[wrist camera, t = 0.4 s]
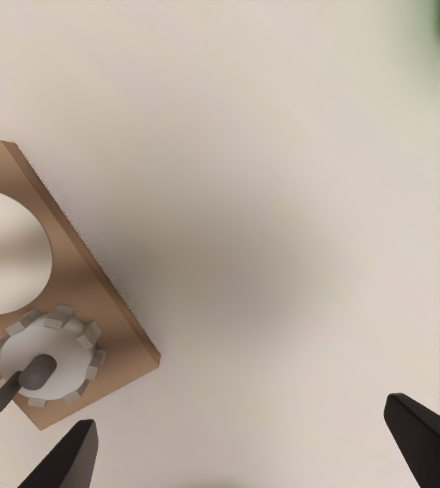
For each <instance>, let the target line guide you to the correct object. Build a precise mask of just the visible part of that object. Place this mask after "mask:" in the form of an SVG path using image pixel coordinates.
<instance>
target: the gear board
mask: <svg viewBox="0 0 440 488" xmlns="http://www.w3.org/2000/svg"><path fill="white" fill-rule="evenodd" d="M160 357H161V355H160V354H159V352H158V351H157V349H156V348H155V346H154V345H153V343H152V342H151V341H150V339H149V338H148V336H147V335H146V333H145V332H144V330H143V329H142V327H141V326H140V325H139V323H138V322H137V320H136V319H135V317H134V316H133V314H132V313H131V311H130V310H129V309H128V307H127V306H126V304H125V303H124V301H123V300H122V298H121V297H120V295H119V294H118V292H117V291H116V290H115V288H114V287H113V285H112V284H111V282H110V281H109V279H108V278H107V276H106V275H105V274H104V272H103V271H102V269H101V268H100V266H99V265H98V263H97V262H96V260H95V259H94V257H93V256H92V255H91V253H90V252H89V250H88V249H87V247H86V246H85V244H84V243H83V241H82V240H81V239H80V237H79V236H78V234H77V233H76V231H75V230H74V228H73V227H72V225H71V224H70V222H69V221H68V220H67V218H66V217H65V215H64V214H63V212H62V211H61V209H60V208H59V206H58V205H57V204H56V202H55V201H54V199H53V198H52V196H51V195H50V193H49V192H48V190H47V189H46V188H45V186H44V185H43V183H42V182H41V180H40V179H39V177H38V176H37V174H36V173H35V171H34V170H33V169H32V167H31V166H30V164H29V163H28V161H27V160H26V158H25V157H24V155H23V154H22V153H21V151H20V150H19V148H18V147H17V145H16V144H14V143H10V142H6V141H2V140H0V412H1V411H2V410H3V409H4V408H5V407H6V406H7V405H8V403H9V402H10V401H11V400H13V401H14V402H15V403H16V404H17V405H18V406H19V408H20V409H21V410H22V411H23V412H24V413H25V414H26V415H27V416H28V417H29V419H30V420H31V421H32V422H33V423H34V424H35V425H36V426H37V427H38V429H39V430H40V431H41V430H43V429H45V428H47V427H49V426H50V425H52V424H54V423H56V422H58V421H60V420H62V419H63V418H65V417H67V416H69V415H71V414H73V413H75V412H76V411H78V410H80V409H82V408H84V407H86V406H87V405H89V404H91V403H93V402H95V401H97V400H99V399H100V398H102V397H104V396H106V395H108V394H110V393H112V392H113V391H115V390H117V389H119V388H121V387H123V386H125V385H126V384H128V383H130V382H132V381H134V380H136V379H138V378H139V377H141V376H143V375H145V374H147V373H149V372H150V371H152V370H154V369H156V368H158V367H159V363H160Z"/></svg>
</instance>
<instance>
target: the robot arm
mask: <svg viewBox="0 0 440 488" xmlns="http://www.w3.org/2000/svg"><path fill="white" fill-rule="evenodd" d="M384 419H385V422H386V424H387V426H388V428H389V430H390V432H391V433H392V435H393V437H394V439H395V441H396V443H397V445H398V447H399V449H400V451H401V453H402V455H403V457H404V459H405V460H406V462H407V464H408V466H409V468H410V470H411V472H412V474H413V475H414V477H415V479H416V481H417V482H418V484H419V486H420V487H421V488H440V415H438V414H436V413H435V412H433V411H431V410H430V409H428V408H426V407H425V406H423V405H422V404H420V403H418V402H417V401H415V400H413V399H412V398H410V397H408V396H407V395H405V394H403V393H392V394H389V395H388V397H387V401H386V405H385V409H384ZM97 450H98V435H97V429H96V423H95V421H94V420H93V419H89V420H80V421H78V422H77V423H76V424H75V425H74V426H73V427H72V428H71V430H70V431H69V432H68V433H67V434H66V435H65V436H64V437H63V438H62V439H61V440H60V442H59V443H58V444H57V445H56V446H55V447H54V448H53V449H52V450H51V451H50V453H49V454H48V455H47V456H46V457H45V458H44V459H43V460H42V461H41V462H40V463H39V465H38V466H37V467H36V468H35V469H34V470H33V471H32V472H31V473H30V474H29V476H28V477H27V478H26V479H25V480H24V481H23V482H22V483H21V484H20V485H19V486H18V488H89V486H90V482H91V477H92V473H93V468H94V464H95V459H96V455H97Z"/></svg>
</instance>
